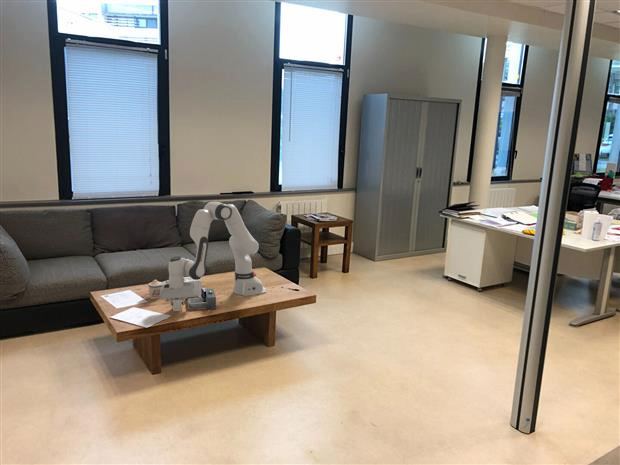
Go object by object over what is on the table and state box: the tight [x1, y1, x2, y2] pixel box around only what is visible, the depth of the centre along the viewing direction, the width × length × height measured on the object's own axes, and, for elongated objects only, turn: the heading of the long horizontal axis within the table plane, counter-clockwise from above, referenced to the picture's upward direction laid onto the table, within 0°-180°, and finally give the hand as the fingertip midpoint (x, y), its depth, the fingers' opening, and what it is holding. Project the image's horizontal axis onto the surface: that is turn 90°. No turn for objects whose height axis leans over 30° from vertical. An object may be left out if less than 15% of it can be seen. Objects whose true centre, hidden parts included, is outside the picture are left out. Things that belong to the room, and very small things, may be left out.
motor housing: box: [187, 288, 217, 311], centre depth 306 cm, size 16×16×9 cm
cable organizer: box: [184, 276, 202, 299], centre depth 322 cm, size 15×11×12 cm
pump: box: [172, 298, 183, 312], centre depth 298 cm, size 5×5×9 cm
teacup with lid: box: [147, 279, 163, 300], centre depth 318 cm, size 12×9×12 cm
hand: (177, 304), depth 299 cm, fingers closed on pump, 5 cm apart
